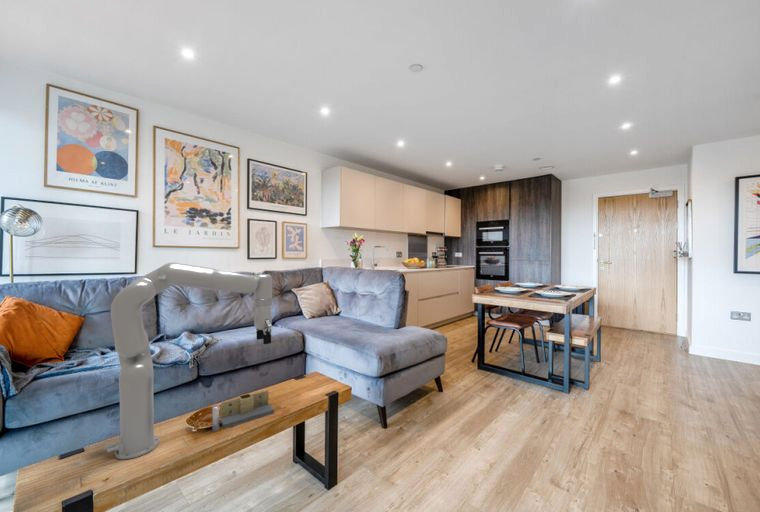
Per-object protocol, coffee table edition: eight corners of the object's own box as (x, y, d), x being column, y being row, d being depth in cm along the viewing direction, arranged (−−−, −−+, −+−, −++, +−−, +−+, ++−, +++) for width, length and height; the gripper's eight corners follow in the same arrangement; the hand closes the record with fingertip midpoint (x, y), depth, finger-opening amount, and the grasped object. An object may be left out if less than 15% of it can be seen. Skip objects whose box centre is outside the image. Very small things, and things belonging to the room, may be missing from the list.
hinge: (222, 419, 129) (222, 405, 129) (219, 415, 133) (219, 400, 133) (269, 406, 140) (269, 392, 140) (266, 401, 145) (266, 388, 145)
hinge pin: (213, 432, 123) (212, 408, 123) (212, 429, 125) (211, 406, 125) (220, 429, 124) (219, 406, 124) (218, 427, 126) (218, 404, 126)
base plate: (223, 428, 125) (223, 424, 125) (216, 414, 136) (216, 411, 136) (274, 413, 137) (274, 409, 137) (264, 401, 148) (264, 398, 148)
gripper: (248, 301, 144) (249, 339, 144) (260, 305, 131) (261, 347, 130) (265, 299, 149) (266, 336, 149) (278, 303, 135) (279, 344, 135)
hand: (263, 341), depth 140 cm, fingers open, 9 cm apart
